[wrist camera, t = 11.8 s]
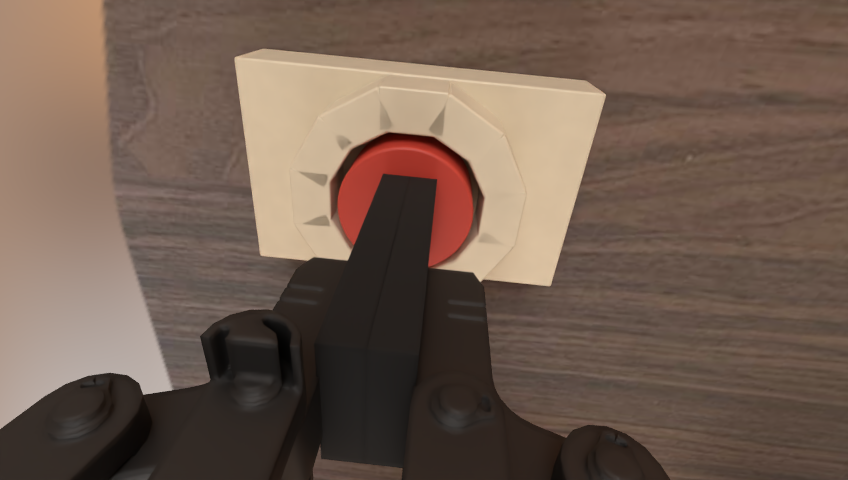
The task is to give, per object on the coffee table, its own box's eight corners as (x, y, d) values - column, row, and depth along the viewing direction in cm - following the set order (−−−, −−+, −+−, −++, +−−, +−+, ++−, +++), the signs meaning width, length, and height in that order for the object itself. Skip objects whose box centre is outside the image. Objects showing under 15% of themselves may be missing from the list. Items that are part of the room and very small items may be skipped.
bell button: (349, 236, 15) (337, 263, 13) (349, 122, 13) (334, 139, 11) (463, 247, 15) (464, 277, 13) (480, 135, 13) (483, 155, 11)
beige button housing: (280, 228, 18) (238, 284, 15) (262, 48, 14) (201, 65, 11) (540, 255, 18) (561, 319, 14) (587, 80, 14) (628, 108, 11)
